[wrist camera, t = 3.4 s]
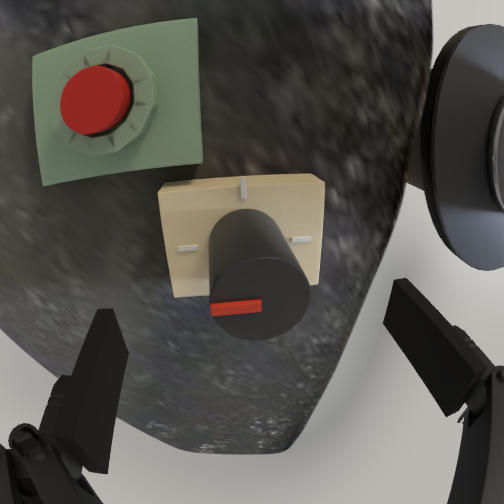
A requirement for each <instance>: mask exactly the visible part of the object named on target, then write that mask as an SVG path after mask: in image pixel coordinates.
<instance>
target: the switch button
mask: <svg viewBox="0 0 504 504" xmlns="http://www.w3.org/2000/svg"><path fill="white" fill-rule="evenodd" d="M129 104H130V88H129V85H128V83H127V81H126V79H125V78H124V77H123V76H122V75H121V74H119V73H118V72H116V71H114V70H111V69H108V68H106V67H102V66H91V67H87V68H84V69H82V70H80V71H79V72H77V73H76V74H75V75H73V76H72V78H71V79H70V80H69V81H68V82H67V84H66V85H65V87H64V89H63V92H62V95H61V99H60V111H61V115H62V118H63V120H64V122H65V123H66V125H67V126H68V127H69V128H70V129H72V130H73V131H75V132H77V133H80V134H94V133H98V132H102V131H106V130H109V129H111V128H112V127H114V126H115V125H117V124H118V123H119V122H120V121H121V120H122V119H123V117H124V116H125V114H126V112H127V110H128V107H129Z"/></svg>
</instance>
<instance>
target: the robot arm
mask: <svg viewBox="0 0 504 504" xmlns="http://www.w3.org/2000/svg"><path fill="white" fill-rule="evenodd" d="M486 171H487V179H488V185H489V189H490V192H491V195H492V198H493V200H494V202H495V204H496V205H497V206H498V208H499V209H500V210H502V211H503V212H504V95H503V96H502V97H501V98H500V100H499V101H498V103H497V105H496V107H495V109H494V111H493V114H492V117H491V121H490V125H489V130H488V136H487V144H486ZM383 324H384V326H385V327H386V329H387V330H388V331H389V333H390V334H391V335H392V337H393V338H394V340H395V341H396V343H397V344H398V345H399V347H400V348H401V350H402V351H403V352H404V354H405V356H406V357H407V358H408V360H409V361H410V363H411V364H412V366H413V367H414V369H415V370H416V372H417V373H418V375H419V376H420V378H421V379H422V381H423V382H424V384H425V385H426V387H427V388H428V390H429V391H430V393H431V394H432V396H433V397H434V399H435V401H436V402H437V404H438V405H439V407H440V408H441V410H442V412H443V413H444V415H445V416H446V417H448V416H450V415H451V414H454V413H456V412H457V411H459V410H460V408H461V407H462V405H463V404H464V403H466V404H467V406H468V407H467V408H466V410H465V411H464V412H463V414H462V415H461V416H460V417H459V419H458V422H457V423H460V421H461V420H462V419H463V417H464V422H463V432H462V439H461V444H460V450H459V456H458V461H457V466H456V471H455V475H454V479H453V483H452V487H451V491H450V495H449V499H448V502H447V504H504V366H496V367H495V366H494V365H493V363H491V361H490V360H489V359H488V358H487V356H486V355H485V354H484V353H483V352H482V351H481V350H480V348H479V347H478V346H476V344H475V342H474V341H473V340H471V339H470V337H469V336H468V335H467V334H466V332H465V331H463V330H462V329H460V328H459V327H457V326H452V325H451V324H450V323H449V322H448V321H447V320H446V319H445V318H444V317H443V316H442V314H441V313H440V312H439V311H438V310H437V309H436V308H435V307H434V306H433V305H432V304H431V303H430V302H429V301H428V300H427V299H426V298H425V297H424V295H423V294H421V292H420V291H418V289H417V288H416V287H415V286H414V285H413V284H412V283H411V282H410V281H409V280H408V279H407V278H402V279H396V280H394V282H393V286H392V290H391V295H390V299H389V303H388V306H387V310H386V314H385V318H384V321H383ZM128 355H129V352H128V350H127V347H126V344H125V342H124V339H123V336H122V333H121V331H120V328H119V325H118V322H117V319H116V316H115V313H114V310H113V308H110V309H98V310H97V312H96V314H95V317H94V319H93V321H92V324H91V326H90V329H89V331H88V333H87V336H86V338H85V341H84V343H83V346H82V348H81V351H80V354H79V356H78V359H77V362H76V364H75V367H74V370H73V373H72V375H71V376H66V375H62V376H61V377H60V378H59V379H58V380H57V382H56V383H55V384H54V386H53V389H52V392H51V397H49V400H48V405H47V406H46V409H45V411H44V415H43V418H42V421H41V424H40V427H39V430H37V429H36V428H35V427H34V426H33V425H31V424H26V423H23V424H20V425H18V426H16V427H15V428H14V429H13V430H12V432H11V433H10V435H9V440H8V441H9V447H10V448H11V449H5V448H4V447H3V446H2V445H1V444H0V504H103V503H102V501H101V500H100V499H99V497H98V496H97V495H96V493H95V492H94V490H93V489H92V487H91V486H90V484H89V483H88V481H87V480H86V478H85V477H84V476H83V474H82V467H83V466H84V467H85V468H86V469H87V470H88V471H89V472H94V473H101V474H108V467H109V459H110V452H111V445H112V438H113V432H114V425H115V419H116V414H117V408H118V403H119V397H120V392H121V387H122V382H123V377H124V373H125V368H126V363H127V359H128Z"/></svg>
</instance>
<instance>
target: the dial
mask: <svg viewBox="0 0 504 504" xmlns="http://www.w3.org/2000/svg"><path fill="white" fill-rule="evenodd" d="M310 299H311V288H310V284H309V281H308V279H307V277H306V275H305V273H304V271H303V269H302V268H301V266H300V264H299V262H298V260H297V259H296V257H295V255H294V253H293V251H292V250H291V248H290V246H289V244H288V243H287V241H286V239H285V237H284V236H283V234H282V232H281V230H280V228H279V227H278V225H277V223H276V222H275V221H274V220H273V219H272V218H271V217H270V216H269V215H267V214H266V213H264V212H261V211H259V210H255V209H239V210H235V211H232V212H230V213H228V214H226V215H225V216H223V217H222V218H221V219H220V220H219V221H218V222H217V223H216V224H215V226H214V227H213V229H212V231H211V233H210V237H209V302H210V311H211V316H212V317H213V319H214V320H215V322H216V323H217V324H218V326H219V327H220V328H221V329H222V330H223V331H225V332H226V333H228V334H230V335H232V336H234V337H236V338H239V339H243V340H249V341H260V340H267V339H271V338H275V337H278V336H280V335H282V334H284V333H286V332H288V331H289V330H291V329H292V328H293V327H295V326H296V325H297V324H298V323H299V322H300V321H301V319H302V318H303V317H304V315H305V314H306V312H307V310H308V307H309V304H310Z"/></svg>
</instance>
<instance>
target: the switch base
mask: <svg viewBox="0 0 504 504" xmlns="http://www.w3.org/2000/svg"><path fill="white" fill-rule="evenodd" d="M91 66H102V67H106V68H108V69H111V70H114V71H116V72H118V73H119V74H121V75H122V76H123V77H124V78H125V79H126V81H127V83H128V85H129V88H130V104H129V107H128V110H127V112H126V114H125V116H124V117H123V119H122V120H121V121H120V122H119V123H118V124H117V125H115V126H114V127H112V128H111V129H109V130H106V131H102V132H98V133H94V134H80V133H77V132H75V131H73V130H72V129H70V128H69V127H68V126H67V125H66V123H65V122H64V120H63V118H62V115H61V111H60V99H61V95H62V92H63V89H64V87H65V85H66V84H67V82H68V81H69V80H70V79H71V78H72V76H73V75H75V74H76V73H77V72H79V71H80V70H82V69H84V68H87V67H91ZM32 87H33V110H34V124H35V134H36V143H37V151H38V159H39V165H40V172H41V178H42V183H43V186H48V185H52V184H57V183H62V182H67V181H73V180H78V179H84V178H89V177H95V176H102V175H108V174H114V173H121V172H128V171H135V170H143V169H151V168H160V167H169V166H178V165H189V164H200V163H202V162H203V145H202V128H201V108H200V83H199V48H198V23H197V18H191V19H181V20H172V21H165V22H158V23H151V24H145V25H139V26H134V27H129V28H124V29H119V30H115V31H111V32H107V33H103V34H99V35H95V36H91V37H88V38H84V39H81V40H77V41H74V42H71V43H68V44H65V45H62V46H59V47H56V48H53V49H51V50H48V51H45V52H43V53H40V54H37V55H35V56H33V60H32Z"/></svg>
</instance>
